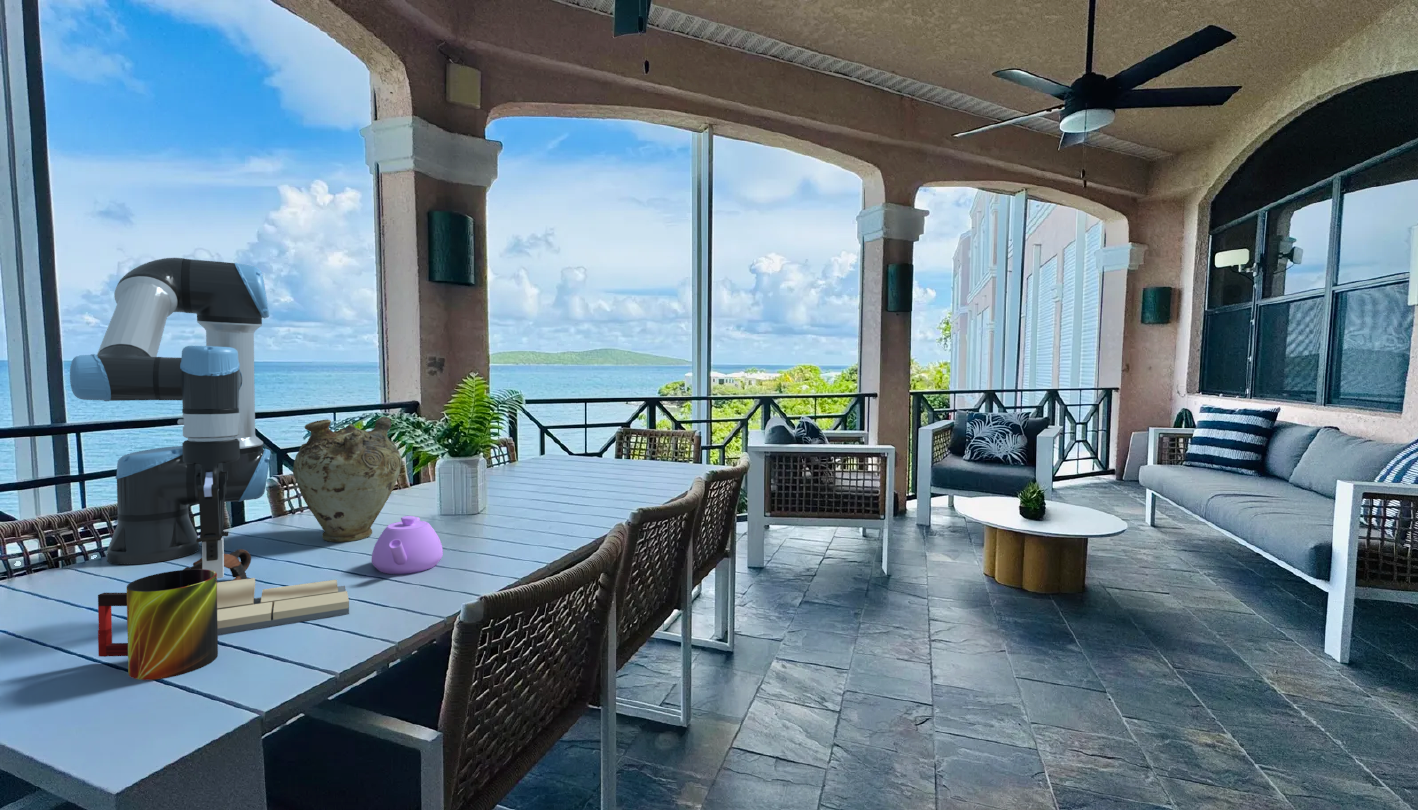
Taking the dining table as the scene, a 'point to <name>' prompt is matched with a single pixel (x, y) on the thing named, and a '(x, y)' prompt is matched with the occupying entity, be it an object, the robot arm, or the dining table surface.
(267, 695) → the dining table surface
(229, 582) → the plank near
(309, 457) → the vase
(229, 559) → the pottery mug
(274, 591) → the plank far
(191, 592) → the mug
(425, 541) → the teapot
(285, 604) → the floor panel
